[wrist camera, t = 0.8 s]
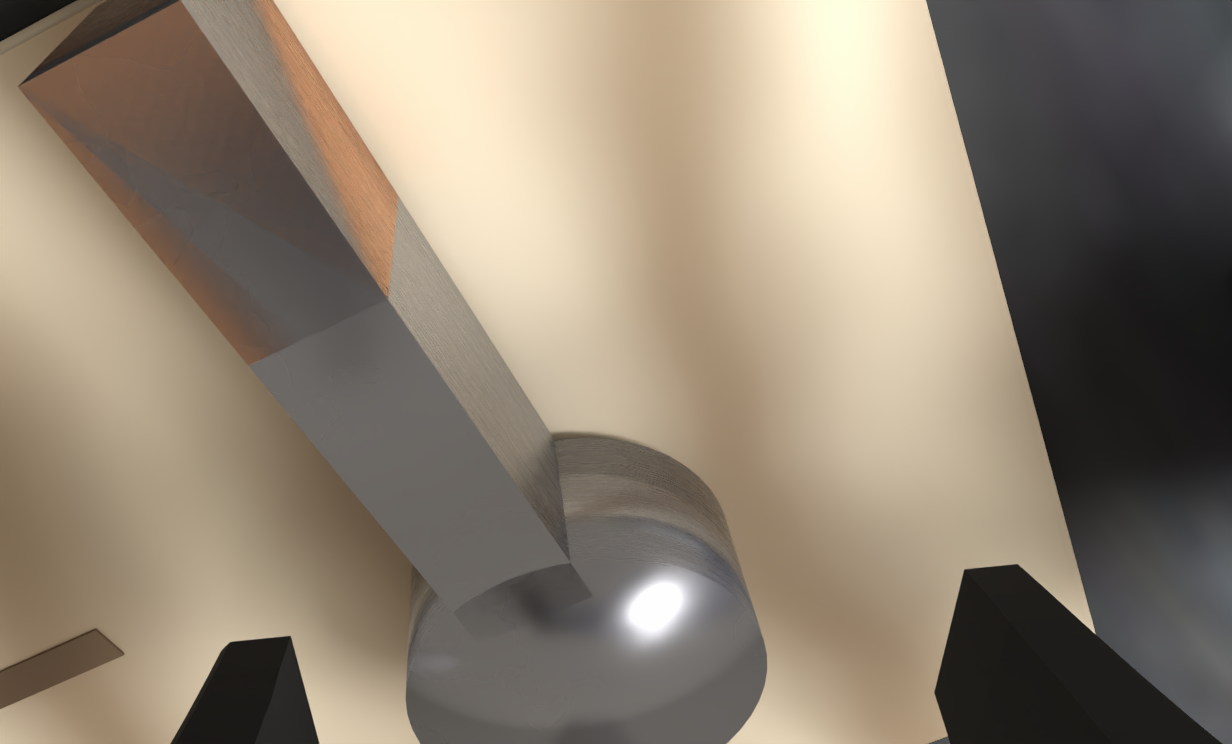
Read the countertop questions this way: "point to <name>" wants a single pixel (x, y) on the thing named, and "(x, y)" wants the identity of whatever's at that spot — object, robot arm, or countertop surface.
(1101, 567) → the countertop surface
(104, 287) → the lock board
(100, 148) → the lever
